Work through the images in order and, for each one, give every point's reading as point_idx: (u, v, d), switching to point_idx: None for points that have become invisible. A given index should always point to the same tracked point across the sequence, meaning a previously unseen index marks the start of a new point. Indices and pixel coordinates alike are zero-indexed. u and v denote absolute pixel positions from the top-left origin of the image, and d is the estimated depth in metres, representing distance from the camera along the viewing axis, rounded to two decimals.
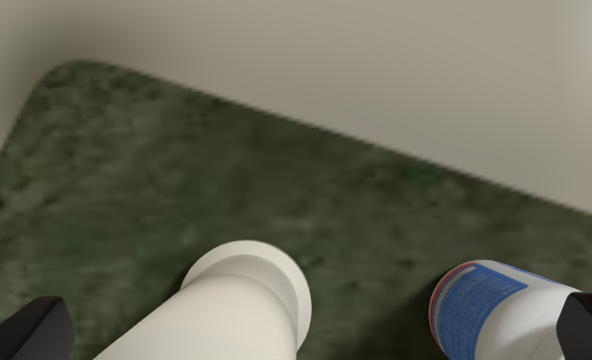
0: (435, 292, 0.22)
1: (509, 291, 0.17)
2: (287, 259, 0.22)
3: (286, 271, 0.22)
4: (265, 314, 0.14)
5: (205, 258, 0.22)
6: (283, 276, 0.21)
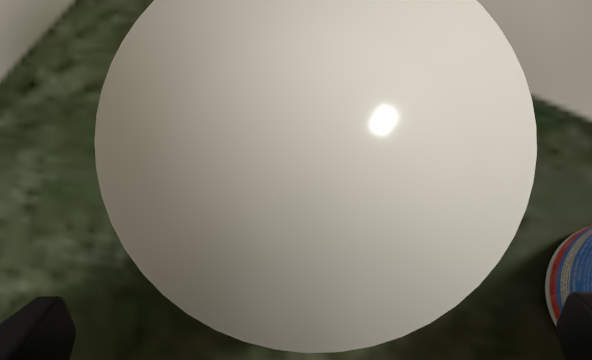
0: (557, 254, 0.17)
1: None
2: None
3: None
4: None
5: None
6: None
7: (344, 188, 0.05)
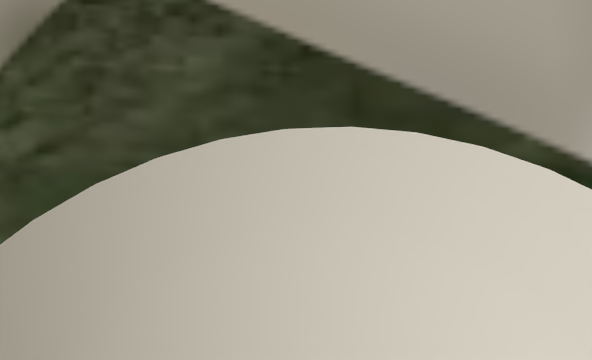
0: None
1: None
2: None
3: None
4: None
5: None
6: None
7: None
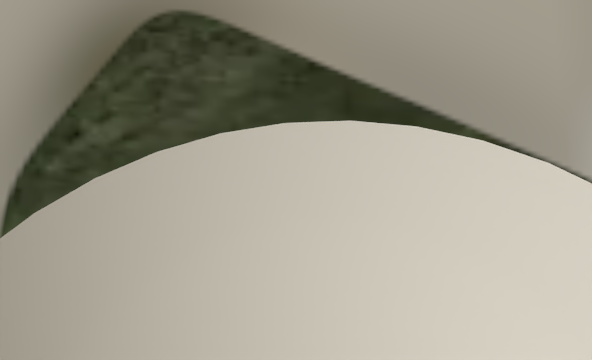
0: None
1: None
2: None
3: None
4: None
5: None
6: None
7: None
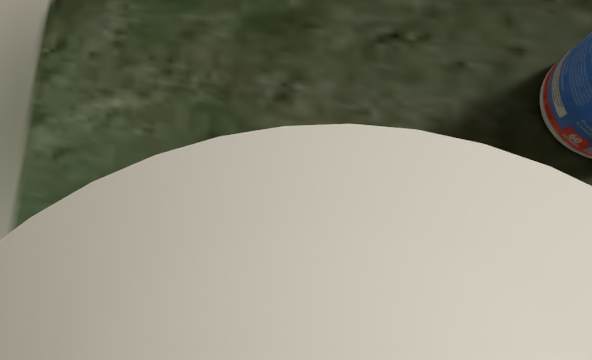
0: (550, 70, 0.21)
1: None
2: None
3: None
4: None
5: None
6: None
7: None
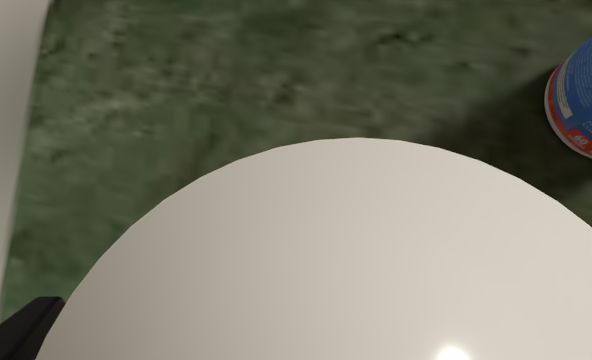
0: (555, 71, 0.21)
1: None
2: None
3: None
4: None
5: None
6: None
7: None
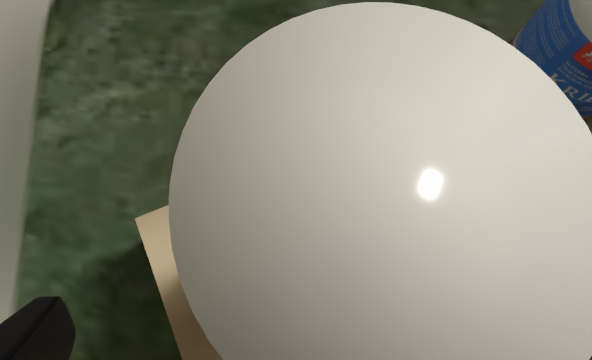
0: None
1: None
2: None
3: None
4: None
5: None
6: None
7: (455, 259, 0.05)
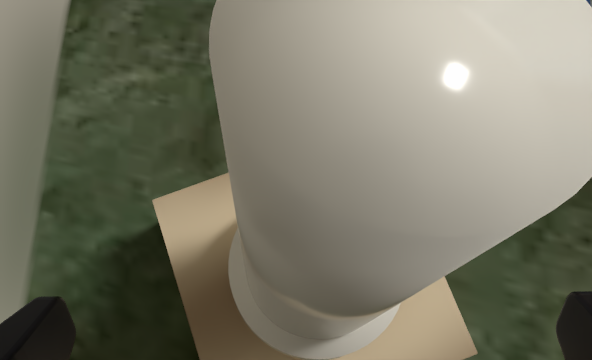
0: None
1: None
2: None
3: None
4: None
5: None
6: None
7: (460, 92, 0.06)
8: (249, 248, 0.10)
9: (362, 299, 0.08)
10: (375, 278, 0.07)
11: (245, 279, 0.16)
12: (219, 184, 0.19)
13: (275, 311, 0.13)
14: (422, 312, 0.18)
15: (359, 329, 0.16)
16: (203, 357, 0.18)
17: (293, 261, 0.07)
